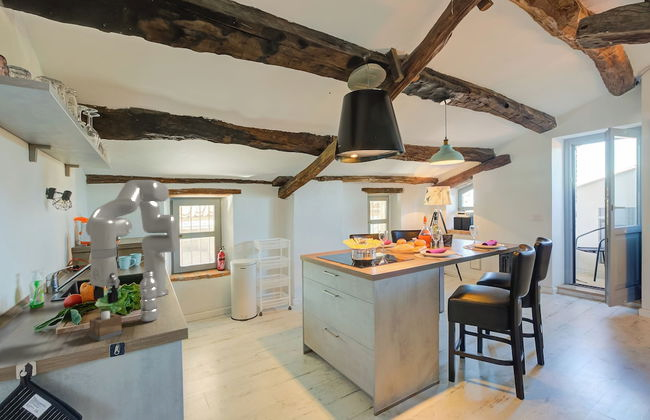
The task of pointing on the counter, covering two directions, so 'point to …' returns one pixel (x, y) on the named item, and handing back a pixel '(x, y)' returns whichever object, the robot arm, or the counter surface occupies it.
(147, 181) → the robot arm
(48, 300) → the counter surface
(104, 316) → the post base
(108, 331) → the wooden block with hole
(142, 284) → the plastic bottle
